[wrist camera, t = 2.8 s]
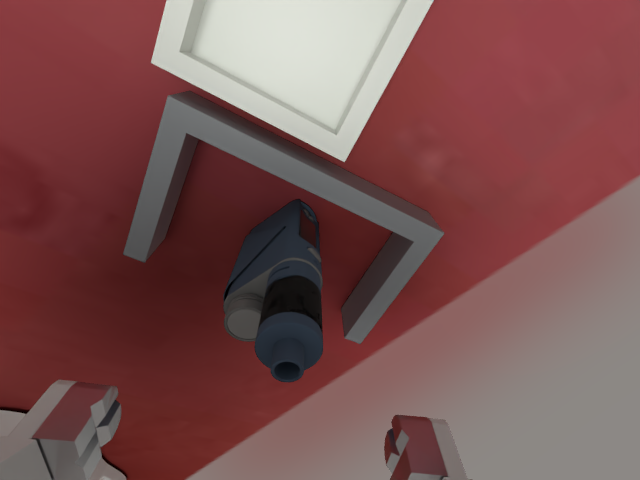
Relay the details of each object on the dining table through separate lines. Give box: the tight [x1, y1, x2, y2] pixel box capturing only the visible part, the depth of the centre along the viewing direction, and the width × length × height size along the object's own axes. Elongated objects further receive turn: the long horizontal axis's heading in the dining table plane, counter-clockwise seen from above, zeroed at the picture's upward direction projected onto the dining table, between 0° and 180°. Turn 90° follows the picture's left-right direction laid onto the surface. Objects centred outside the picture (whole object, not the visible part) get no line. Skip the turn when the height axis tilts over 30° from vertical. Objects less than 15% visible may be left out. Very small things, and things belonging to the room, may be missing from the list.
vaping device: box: [223, 199, 323, 382], centre depth 16 cm, size 3×5×12 cm, turn 126°
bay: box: [123, 91, 444, 344], centre depth 20 cm, size 9×15×3 cm, turn 63°
